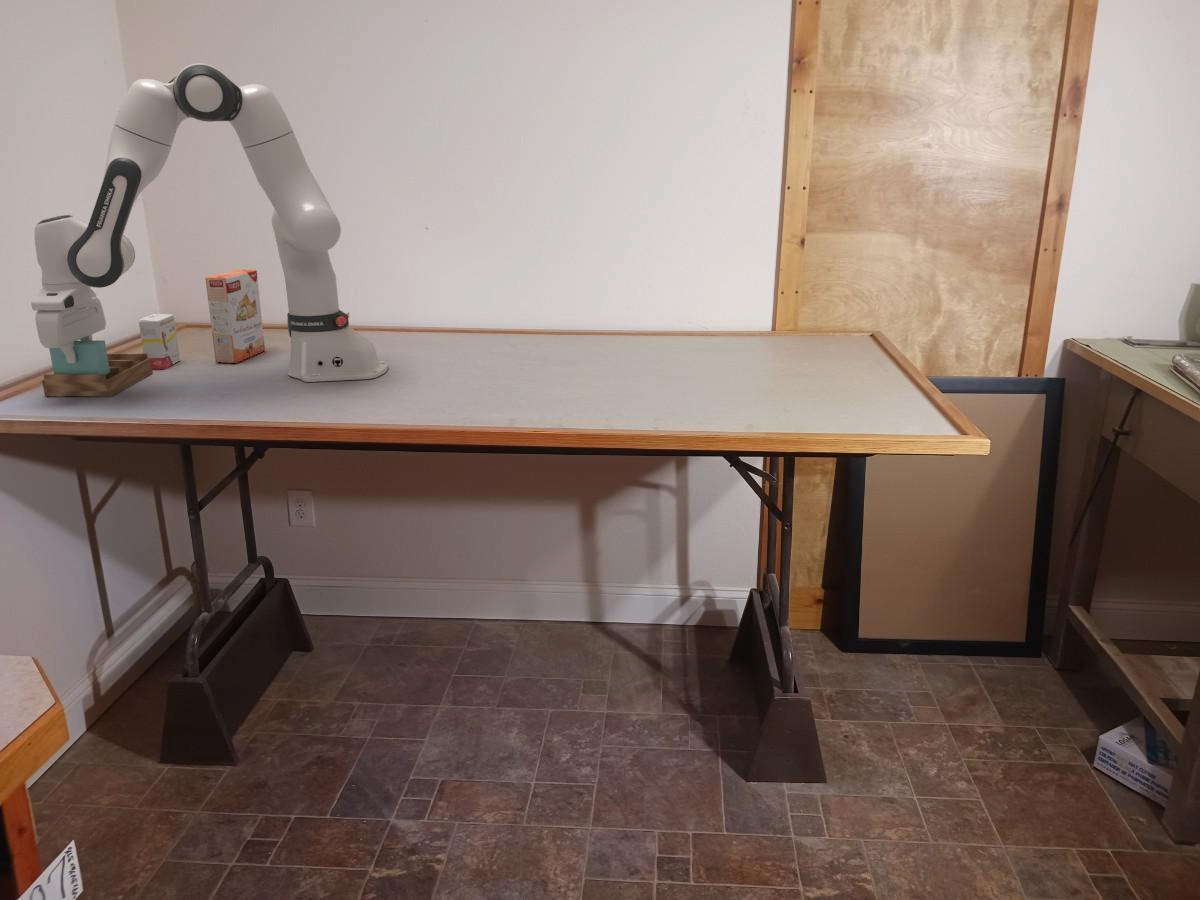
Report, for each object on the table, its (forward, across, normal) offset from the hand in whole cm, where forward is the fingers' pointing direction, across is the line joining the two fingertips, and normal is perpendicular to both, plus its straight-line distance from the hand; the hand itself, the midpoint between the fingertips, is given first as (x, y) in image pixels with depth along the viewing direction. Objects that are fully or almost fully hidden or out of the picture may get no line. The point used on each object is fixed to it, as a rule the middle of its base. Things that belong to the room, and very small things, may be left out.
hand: (79, 359), depth 209 cm
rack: (+7, -6, 0) cm, 10 cm away
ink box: (+8, -24, +6) cm, 26 cm away
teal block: (+3, 0, 0) cm, 3 cm away
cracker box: (+7, -32, +22) cm, 40 cm away
